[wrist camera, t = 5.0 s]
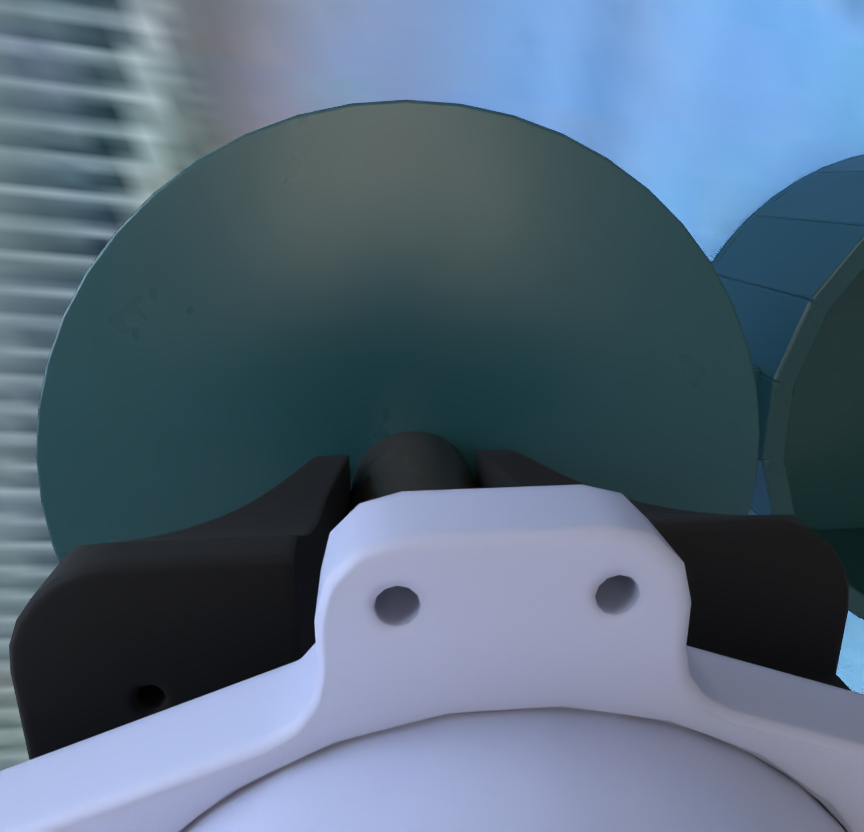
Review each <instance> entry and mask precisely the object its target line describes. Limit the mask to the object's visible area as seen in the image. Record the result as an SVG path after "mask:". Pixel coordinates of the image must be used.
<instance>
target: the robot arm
mask: <svg viewBox="0 0 864 832" xmlns="http://www.w3.org/2000/svg"><path fill="white" fill-rule="evenodd" d="M476 486H477V489H451V490H425V491H401V492H397V493H394V494H390V495H387V496H383V497H380V498H376V499H373V500H369V501H366V502H363V503H359V504H358V505H357V506H356V507H355V508H354V509H353V510H352V511H351V512H350V513H349V511H350V494H351V488H350V465H349V455H335V456H316V457H314V458H312V459H311V460H310V461H308V462H307V463H306V464H305V465H303V466H302V467H301V468H300V469H298V470H297V471H296V472H294V473H293V474H292V475H291V476H289V477H288V478H287V479H285V480H284V481H283V482H281V483H280V484H278V485H277V486H275V487H274V488H272V489H271V490H269V491H268V492H266V493H265V494H263V495H262V496H260V497H259V498H257V499H255V500H254V501H252V502H250V503H248V504H246V505H245V506H243V507H241V508H239V509H236V510H234V511H232V512H230V513H228V514H226V515H223V516H221V517H218V518H216V519H213V520H210V521H207V522H204V523H201V524H198V525H195V526H192V527H189V528H186V529H183V530H179V531H175V532H171V533H167V534H163V535H158V536H153V537H147V538H142V539H136V540H130V541H122V542H112V543H101V544H89V545H79V546H74V547H73V548H72V549H71V550H70V552H69V553H68V554H67V555H66V556H65V557H64V559H63V560H62V561H61V562H60V563H59V565H58V566H57V567H56V568H55V569H54V571H53V572H52V573H51V574H50V576H49V577H48V578H47V579H46V581H45V582H44V583H43V584H42V586H41V587H40V588H39V589H38V591H37V592H36V593H35V594H34V595H33V597H32V598H31V599H30V601H29V602H28V604H27V605H26V607H25V608H24V610H23V611H22V613H21V614H20V616H19V617H18V619H17V620H16V623H15V627H14V630H13V634H12V638H11V641H10V645H9V651H10V670H11V676H12V681H13V685H14V690H15V695H16V699H17V704H18V708H19V713H20V718H21V722H22V727H23V731H24V736H25V741H26V745H27V750H28V755H29V759H30V760H29V761H26V762H23V763H21V764H18V765H15V766H12V767H10V768H7V769H4V770H2V771H0V832H864V694H860V693H857V692H853V691H851V690H850V689H849V688H848V687H847V686H846V685H845V683H844V682H843V681H842V680H841V679H840V678H839V677H838V676H837V675H836V670H837V665H838V660H839V655H840V649H841V644H842V639H843V634H844V629H845V624H846V618H847V613H848V603H849V583H848V579H847V576H846V572H845V568H844V564H843V563H842V561H841V560H840V558H839V557H838V555H837V554H836V552H835V551H834V549H833V548H832V546H831V545H830V544H829V543H828V542H826V541H825V540H824V539H823V538H821V537H820V536H819V535H818V534H816V533H815V532H814V531H813V530H812V529H810V528H809V527H808V526H807V525H805V524H804V523H803V522H802V521H800V520H799V519H798V518H797V517H796V516H794V515H728V514H716V513H704V512H694V511H686V510H679V509H673V508H668V507H662V506H657V505H651V504H647V503H642V502H638V501H634V500H630V499H627V498H626V497H625V496H624V495H623V494H622V493H619V492H614V491H610V490H605V489H600V488H596V487H591V486H588V485H586V484H583V483H581V482H578V481H576V480H573V479H571V478H569V477H567V476H565V475H562V474H560V473H558V472H556V471H554V470H552V469H550V468H548V467H546V466H544V465H542V464H540V463H538V462H536V461H534V460H532V459H530V458H528V457H526V456H524V455H522V454H520V453H518V452H515V451H513V450H480V451H476Z"/></svg>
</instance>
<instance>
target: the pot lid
mask: <svg viewBox="0 0 864 832" xmlns="http://www.w3.org/2000/svg"><path fill="white" fill-rule="evenodd" d="M759 438H760V428H759V412H758V396H757V387H756V382H755V377H754V372H753V367H752V363H751V358H750V353H749V348H748V344H747V342H746V339H745V336H744V333H743V330H742V328H741V325H740V322H739V319H738V317H737V314H736V311H735V308H734V305H733V303H732V301H731V299H730V297H729V295H728V293H727V292H726V290H725V288H724V286H723V284H722V282H721V280H720V278H719V276H718V275H717V273H716V271H715V269H714V267H713V265H712V263H711V262H710V260H709V259H708V258H707V256H706V255H705V253H704V252H703V251H702V249H701V248H700V247H699V245H698V244H697V243H696V241H695V240H694V238H693V237H692V236H691V234H690V233H689V232H688V230H687V229H686V228H685V226H684V225H683V224H682V223H681V222H680V221H679V220H678V219H677V218H676V217H675V216H674V214H673V213H672V212H671V211H670V210H669V209H668V208H667V207H666V206H665V205H664V204H663V203H662V202H661V201H660V200H659V199H658V198H657V197H656V196H655V195H654V194H653V193H652V192H651V191H650V190H649V189H648V188H646V187H645V186H644V185H642V184H641V183H640V182H638V181H637V180H636V179H634V178H633V177H632V176H630V175H629V174H628V173H626V172H625V171H624V170H623V169H621V168H620V167H619V166H617V165H616V164H615V163H613V162H612V161H611V160H609V159H608V158H606V157H604V156H602V155H601V154H599V153H597V152H595V151H593V150H591V149H590V148H588V147H586V146H584V145H582V144H581V143H579V142H577V141H575V140H573V139H571V138H570V137H568V136H566V135H564V134H562V133H559V132H557V131H554V130H551V129H549V128H546V127H543V126H541V125H538V124H535V123H533V122H530V121H527V120H525V119H522V118H519V117H517V116H514V115H510V114H505V113H501V112H496V111H492V110H487V109H482V108H478V107H473V106H469V105H464V104H457V103H443V102H430V101H416V100H396V101H381V102H367V103H352V104H347V105H342V106H338V107H333V108H328V109H324V110H319V111H314V112H310V113H305V114H300V115H296V116H294V117H291V118H288V119H285V120H283V121H280V122H277V123H275V124H272V125H269V126H266V127H264V128H261V129H258V130H256V131H253V132H250V133H248V134H245V135H243V136H241V137H239V138H238V139H236V140H234V141H232V142H230V143H228V144H227V145H225V146H223V147H221V148H219V149H217V150H216V151H214V152H212V153H210V154H208V155H206V156H204V157H203V158H201V159H199V160H197V161H196V162H195V163H193V164H192V165H191V166H189V167H188V168H187V169H185V170H184V171H183V172H181V173H180V174H178V175H177V176H176V177H174V178H173V179H172V180H170V181H169V182H168V183H166V184H165V185H164V186H162V187H161V188H160V189H158V190H157V191H156V192H154V193H153V194H152V195H151V196H150V197H149V198H148V199H147V200H146V201H145V202H144V203H143V204H142V206H141V207H140V208H139V209H138V210H137V211H136V212H135V213H134V214H133V215H132V216H131V217H130V218H129V219H128V220H127V221H126V222H125V223H124V224H123V225H122V226H121V227H120V228H119V229H118V230H117V231H116V232H115V234H114V235H113V236H112V238H111V239H110V240H109V242H108V243H107V244H106V246H105V247H104V249H103V250H102V251H101V253H100V254H99V255H98V257H97V258H96V259H95V261H94V262H93V264H92V265H91V266H90V268H89V269H88V270H87V272H86V274H85V276H84V277H83V279H82V281H81V283H80V285H79V287H78V289H77V291H76V293H75V294H74V296H73V298H72V300H71V302H70V304H69V306H68V308H67V310H66V312H65V313H64V315H63V318H62V321H61V324H60V326H59V329H58V332H57V335H56V338H55V341H54V344H53V347H52V349H51V352H50V355H49V358H48V361H47V365H46V370H45V375H44V381H43V386H42V391H41V397H40V402H39V407H38V425H37V453H36V458H37V467H38V476H39V485H40V494H41V503H42V507H43V511H44V515H45V518H46V522H47V526H48V530H49V534H50V538H51V541H52V545H53V548H54V550H55V553H56V555H57V558H58V560H59V562H61V561H62V560H63V559H64V557H65V556H66V555H67V554H68V553H69V552H70V550H71V549H72V548H73V547H74V546H79V545H89V544H101V543H112V542H122V541H130V540H136V539H142V538H147V537H153V536H158V535H163V534H167V533H171V532H175V531H179V530H183V529H186V528H189V527H192V526H195V525H198V524H201V523H204V522H207V521H210V520H213V519H216V518H218V517H221V516H223V515H226V514H228V513H230V512H232V511H234V510H236V509H239V508H241V507H243V506H245V505H246V504H248V503H250V502H252V501H254V500H255V499H257V498H259V497H260V496H262V495H263V494H265V493H266V492H268V491H269V490H271V489H272V488H274V487H275V486H277V485H278V484H280V483H281V482H283V481H284V480H285V479H287V478H288V477H289V476H291V475H292V474H293V473H294V472H296V471H297V470H298V469H300V468H301V467H302V466H303V465H305V464H306V463H307V462H308V461H310V460H311V459H312V458H314V457H316V456H335V455H349V465H350V488H351V494H350V511H349V513H350V512H351V511H352V510H353V509H354V508H355V507H356V506H357V505H358V504H359V503H363V502H366V501H369V500H373V499H376V498H380V497H383V496H387V495H390V494H394V493H397V492H401V491H425V490H451V489H477V486H476V451H480V450H513V451H515V452H518V453H520V454H522V455H524V456H526V457H528V458H530V459H532V460H534V461H536V462H538V463H540V464H542V465H544V466H546V467H548V468H550V469H552V470H554V471H556V472H558V473H560V474H562V475H565V476H567V477H569V478H571V479H573V480H576V481H578V482H581V483H583V484H586V485H588V486H591V487H596V488H600V489H605V490H610V491H614V492H619V493H622V494H623V495H624V496H625V497H626V498H627V499H630V500H634V501H638V502H642V503H647V504H651V505H657V506H662V507H668V508H673V509H679V510H686V511H694V512H704V513H716V514H728V515H749V510H750V505H751V501H752V496H753V491H754V486H755V481H756V477H757V465H758V451H759Z"/></svg>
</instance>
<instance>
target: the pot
mask: <svg viewBox="0 0 864 832" xmlns="http://www.w3.org/2000/svg"><path fill="white" fill-rule="evenodd" d="M712 265H713V267H714V269H715V271H716V273H717V275H718V276H719V278H720V280H721V282H722V284H723V286H724V288H725V290H726V292H727V293H728V295H729V297H730V299H731V301H732V303H733V305H734V308H735V311H736V314H737V317H738V319H739V322H740V325H741V328H742V330H743V333H744V336H745V339H746V342H747V344H748V348H749V353H750V358H751V363H752V367H753V372H754V377H755V382H756V387H757V396H758V412H759V428H760V438H759V451H758V465H757V477H756V481H755V486H754V491H753V496H752V501H751V505H750V510H749V515H794V516H796V517H797V518H798V519H799V520H800V521H802V522H803V523H804V524H805V525H807V526H808V527H809V528H810V529H812V530H813V531H814V532H815V533H816V534H818V535H819V536H820V537H821V538H823V539H824V540H825V541H826V542H828V543H829V544H830V545H831V546H832V548H833V549H834V551H835V552H836V554H837V555H838V557H839V558H840V560H841V561H842V563H843V564H844V568H845V572H846V576H847V579H848V583H849V603H848V610H849V611H850V612H852V613H853V614H854V615H856V616H857V617H859V618H862V619H863V620H864V155H860V156H855V157H851V158H848V159H845V160H842V161H839V162H837V163H834V164H831V165H828V166H826V167H823V168H821V169H819V170H817V171H815V172H813V173H811V174H809V175H807V176H805V177H803V178H801V179H800V180H798V181H796V182H794V183H793V184H791V185H790V186H789V187H787V188H786V189H784V190H783V191H781V192H780V193H778V194H777V195H775V196H774V197H772V198H771V199H770V200H769V201H768V202H766V203H765V204H764V205H763V206H762V207H761V208H759V209H758V210H757V211H756V212H755V213H754V214H752V215H751V216H750V217H749V218H748V219H747V220H746V221H745V222H744V223H743V225H742V226H741V227H740V228H739V229H738V230H737V231H736V232H735V233H734V234H733V235H732V236H731V237H730V239H729V240H728V241H727V243H726V244H725V245H724V247H723V248H722V249H721V251H720V252H719V253H718V255H717V256H716V258H715V259H714V260H713V262H712Z"/></svg>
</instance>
